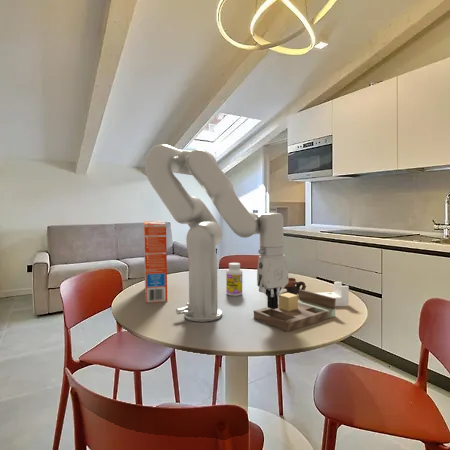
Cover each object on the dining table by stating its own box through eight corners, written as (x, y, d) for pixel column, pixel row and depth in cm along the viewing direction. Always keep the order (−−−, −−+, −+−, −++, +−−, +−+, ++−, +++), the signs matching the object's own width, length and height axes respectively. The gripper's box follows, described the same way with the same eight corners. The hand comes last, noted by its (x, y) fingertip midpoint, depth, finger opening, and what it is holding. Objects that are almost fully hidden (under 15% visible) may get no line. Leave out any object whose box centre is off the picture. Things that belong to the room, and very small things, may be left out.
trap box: (287, 331, 102) (287, 311, 101) (253, 318, 114) (253, 300, 114) (335, 316, 116) (335, 298, 115) (300, 305, 128) (300, 289, 127)
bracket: (340, 301, 134) (340, 281, 133) (348, 306, 127) (348, 286, 126) (307, 302, 133) (307, 282, 132) (313, 307, 126) (314, 287, 125)
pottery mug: (276, 299, 138) (273, 279, 142) (282, 303, 146) (279, 284, 149) (305, 293, 134) (302, 273, 137) (310, 298, 142) (307, 279, 145)
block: (288, 311, 113) (288, 297, 113) (278, 307, 117) (278, 294, 116) (297, 308, 116) (298, 295, 115) (287, 305, 119) (288, 292, 119)
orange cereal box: (167, 301, 133) (166, 224, 131) (146, 303, 132) (144, 224, 129) (163, 287, 156) (162, 220, 154) (145, 288, 154) (143, 221, 152)
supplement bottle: (223, 295, 142) (223, 264, 141) (230, 291, 148) (230, 261, 147) (238, 297, 139) (238, 265, 138) (244, 293, 145) (244, 262, 144)
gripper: (262, 255, 103) (263, 315, 104) (296, 250, 111) (297, 306, 113) (246, 252, 109) (247, 310, 110) (279, 248, 118) (280, 301, 119)
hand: (272, 307), depth 111 cm, fingers closed
